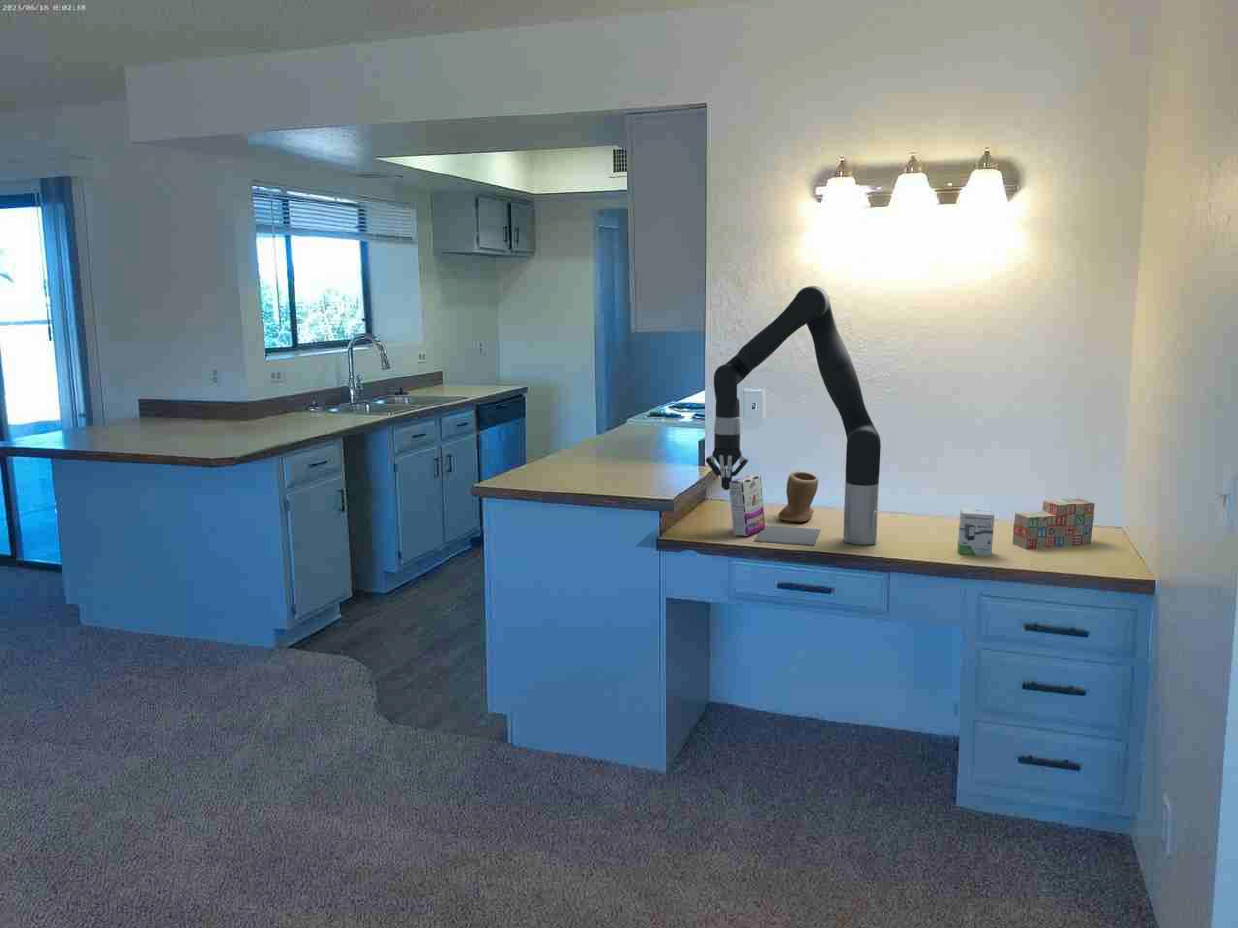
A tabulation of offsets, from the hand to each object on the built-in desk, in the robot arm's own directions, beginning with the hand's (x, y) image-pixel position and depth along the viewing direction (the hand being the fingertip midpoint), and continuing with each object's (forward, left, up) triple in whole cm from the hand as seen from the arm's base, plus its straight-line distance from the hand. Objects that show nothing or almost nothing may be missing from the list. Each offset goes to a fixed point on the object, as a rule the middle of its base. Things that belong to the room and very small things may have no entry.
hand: (726, 489), depth 289 cm
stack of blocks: (-91, -12, -13) cm, 93 cm away
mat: (-19, 0, -13) cm, 23 cm away
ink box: (-70, +4, -13) cm, 71 cm away
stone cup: (-19, -22, -13) cm, 32 cm away
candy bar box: (-7, 0, -13) cm, 15 cm away
